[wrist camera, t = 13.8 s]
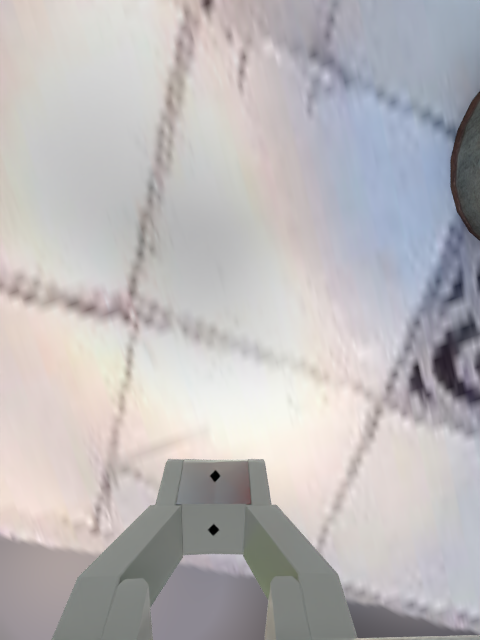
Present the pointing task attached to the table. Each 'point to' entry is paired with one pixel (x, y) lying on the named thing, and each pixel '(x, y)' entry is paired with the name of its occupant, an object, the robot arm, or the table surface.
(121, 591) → the robot arm
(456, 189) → the barrel
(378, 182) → the table surface
